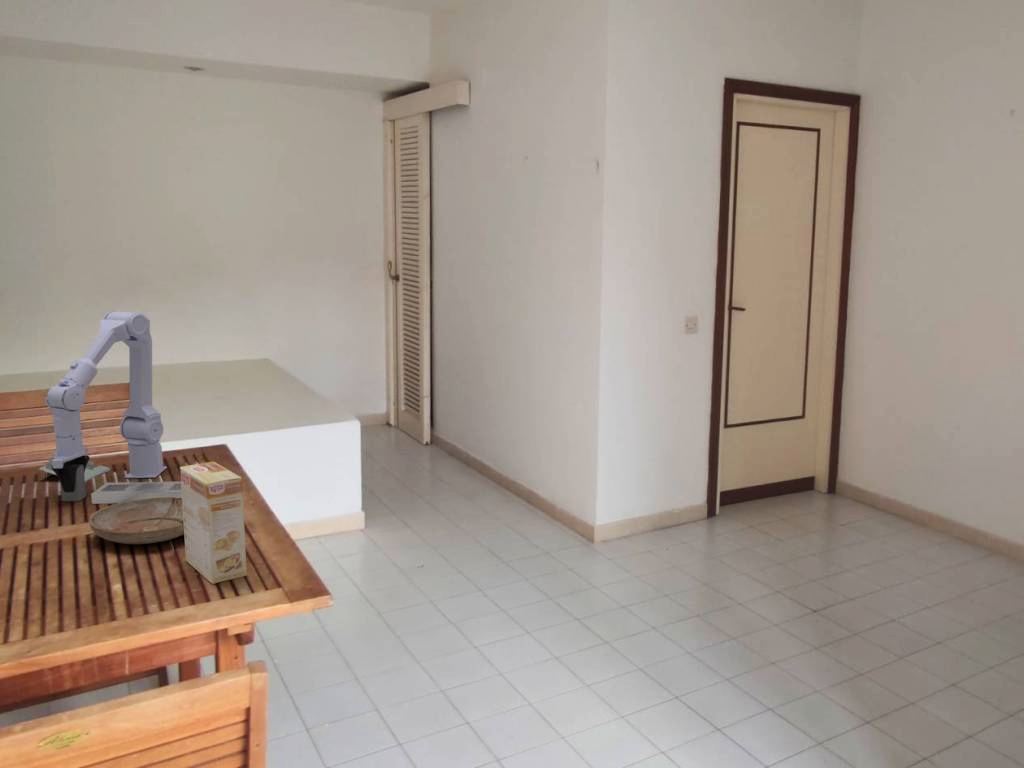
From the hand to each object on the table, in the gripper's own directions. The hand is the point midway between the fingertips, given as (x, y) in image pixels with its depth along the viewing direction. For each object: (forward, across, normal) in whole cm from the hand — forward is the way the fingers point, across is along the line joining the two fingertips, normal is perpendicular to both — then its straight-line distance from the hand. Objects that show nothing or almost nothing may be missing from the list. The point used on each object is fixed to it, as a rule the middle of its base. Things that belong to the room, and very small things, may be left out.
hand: (73, 489), depth 205 cm
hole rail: (+2, 0, +18) cm, 18 cm away
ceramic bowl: (+3, +26, +27) cm, 38 cm away
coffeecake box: (+3, +46, +46) cm, 65 cm away
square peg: (+2, 0, 0) cm, 2 cm away
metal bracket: (+3, -19, -9) cm, 21 cm away
